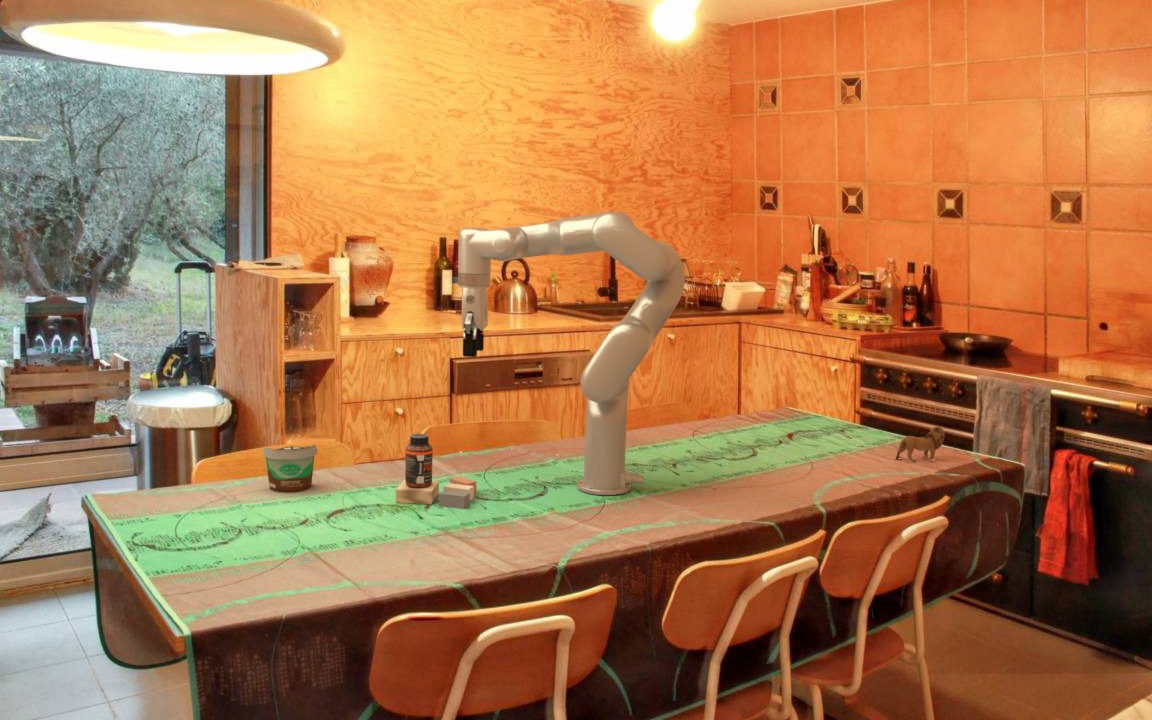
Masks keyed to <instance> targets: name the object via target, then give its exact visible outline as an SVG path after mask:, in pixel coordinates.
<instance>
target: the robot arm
mask: <svg viewBox="0 0 1152 720" xmlns="http://www.w3.org/2000/svg"><path fill="white" fill-rule="evenodd" d="M457 248H458V250H457V251H458V254H457V255H458V257H457V259H458V261H457V263H458V265H457V267H458V269H457V271H458V273H457V284H458V285H457V288H462V291H461V293H462V294H461V297H462V298H461V328H462V329H463V334H462V335H463V336H462V337H463V338H462V356H463V357H469V358H473V357H474V358H476V357H477V355H478V352H482V351H483V350H484V347H485V346H484V345H485V344H484V339H485V337H484V336H485V334H484V330H485V329H486V328H487V327H488V326H489V316H488V315H489V313H488V312H489V311H488V310H489V309H488V289H490V288H491V271H492V270H491V268H492V267H491V264H492V263H491V261H492V260H493V261H498V262H509V261H512V260H513V261H514V260H517V259H524V258H525V259H526V258H534V257H540V256H550V255H555V256H556V255H557V256H573V255H579V254H580V255H582V254H589V253H595V252H605V253H606V254H608V255H609V256H610V257H612V258H613V259H614V260H615V261H617V262H618V263H620V265H623V267H625V268H626V269H628V270H629V271H631V272H632V273H633V274H635V275H636V276H637V277H639V278H640V279H643V280H645V281H646V282H645V285H644V287H643V288H642V290H641V292H640V293H639V294H638V296H637V298H636V299H635V302H634V303H633V304H632V306H631V308H630V309H628V312H627V313H626V314H625V316H624V317H622V319H621V320H620V321H618V323H616V324H615V325H614V326H612V328H610V330H609V332H607V334H606V336H605V337H604V339H603V340H602V342H601V343H600V345H599V346H598V347H597V349H596V350H595V352H594V353H593V355H592V356H591V358H590V360H589V361H588V363H587V364H586V365H585V367H584V368H583V371H582V373H581V375H580V382H579V383H580V389H581V391H582V394H583V395H584V396H585V397H586V398H587V399H586V410H585V431H584V432H585V434H584V435H585V436H584V465H583V467H584V469H583V478H582V479H580V480H578V481H577V484H576V487H577V489H578V490H580V492H583V493H586V494H591V495H595V496H596V495H599V496H616V495H617V494H618V495H622V494H626V493H629V492H630V491H631V489H632V487H631V486H632V484H637V485H639V484H640V485H644V482H645V481H644V480H645V479H644V478H645V475H640V474H639V473H630V472H629V471H628V472H627V467H626V450H627V449H626V447H627V423H628V401H629V391H630V378H631V377H632V375H633V374H634V372H635V371H636V370H637V368H638V367H639V365H640V364H641V362H642V361H643V359H644V358H645V356H646V355H647V354H648V353H649V352H650V350H651V348H652V346H653V344H654V342H655V340H656V338H657V337H658V335H659V334H660V332H661V330H662V329H663V328H664V327H665V324H666V323H667V321H668V320H669V318H670V317H671V316H672V313H673V312H674V310H675V309H676V307H677V306H678V303H679V301H680V299H681V297H682V295H683V291H684V287H685V280H686V279H685V278H686V277H685V276H686V275H685V268H684V265H683V262H682V259H681V257H680V255H679V254H678V252H677V250H676V249H675V248H674V247H673V246H672V245H671V244H669V243H668V242H666V241H661V240H655V239H653V238H652V237H651V236H649V235H648V234H647V233H645V232H643V231H642V230H641V229H640V228H639V227H637V226H636V225H634V221H633V219H632V218H631V217H630V216H629V215H628V214H627V213H625V212H623V211H622V212H621V211H608V212H601V213H595V214H587V215H586V214H585V215H579V216H572V217H571V216H569V217H563V218H559V219H558V218H557V219H555V220H553V221H551V222H544V223H543V222H542V223H539V224H538V223H537V224H530V225H523V226H522V225H521V226H512V227H511V226H510V227H503V228H495V229H489V228H488V229H487V228H486V227H485V228H484V227H463V228H461V229H460V230H459V232H458V247H457Z"/></svg>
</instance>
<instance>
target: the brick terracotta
mask: <svg viewBox="0 0 1152 720" xmlns="http://www.w3.org/2000/svg"><path fill="white" fill-rule="evenodd" d="M449 483H451V484H459V485H468V486H474V495H475V494H477V481H476V480H472V479H470V478H467V477H463V476H462V475H461V476H455V477H450V478H449Z"/></svg>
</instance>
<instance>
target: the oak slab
mask: <svg viewBox="0 0 1152 720" xmlns="http://www.w3.org/2000/svg"><path fill="white" fill-rule="evenodd" d="M439 491H440V481H439V480H438V481H437V480H436V481H433V480H432V484H431V485H430V486H428V487H423V488H415V487H409V486H407V485H406V480H405V479H403V480H402V481H401V483H399V485H398V486H397V487H396V489H395V503H396V502H397V503H398V502H399V504H413V503H417V504H419V505H433V503H434V501H436V499H437V498H438V497H439V493H440V492H439ZM417 504H416V505H417Z"/></svg>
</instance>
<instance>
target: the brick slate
mask: <svg viewBox="0 0 1152 720" xmlns="http://www.w3.org/2000/svg"><path fill="white" fill-rule="evenodd" d="M470 501H471V500H470V493H466V492H457V491H449V490H444V489H443V490H442V491H440V492H439V495H438V506H439V507H443V508H444V507H446V508H453V509H461V510H465V509H466V508H468V507H469V506H470V503H471V502H470Z"/></svg>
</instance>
